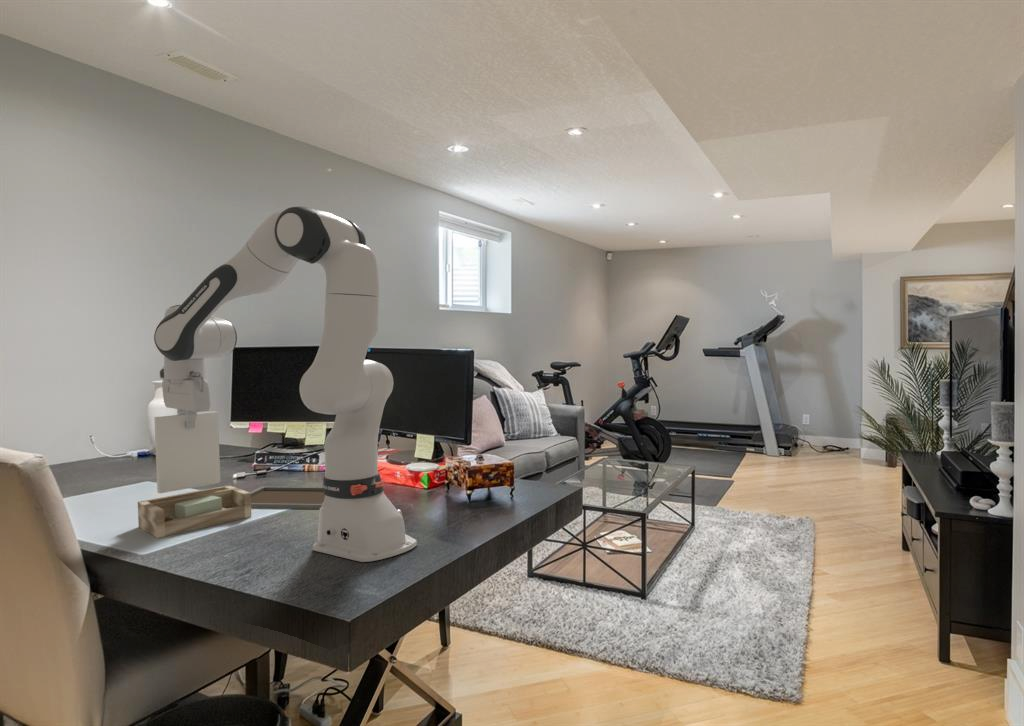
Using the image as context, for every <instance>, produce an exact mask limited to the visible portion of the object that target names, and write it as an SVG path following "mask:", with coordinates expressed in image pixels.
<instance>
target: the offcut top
mask: <svg viewBox="0 0 1024 726" xmlns="http://www.w3.org/2000/svg"><path fill="white" fill-rule="evenodd" d="M218 510H222V498H221V497H216V496H211V495H210V496H206V497H202V498H197V499H193V500H189V501H185V502H180V503H176V504H175V517H179V518H185V517H189V516H194V515H199V514H204V513H208V512H213V511H218Z"/></svg>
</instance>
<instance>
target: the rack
mask: <svg viewBox="0 0 1024 726" xmlns="http://www.w3.org/2000/svg"><path fill="white" fill-rule="evenodd" d="M250 492H251V491H247V490H244V489H241V488H238V487H235V486H232V485H229V484H228V485H227V484H226V485H224V486H223V485H222V486H216V487H211V488H206V489H200V490H195V491H191V492H184V493H179V494H173V495H167V496H163V497H161V496H160V497H156V498H151V499H145V500H141V501H137V514H138V516H137V518H138V528H140V529H141V530H143V531H145V532H146V533H148V534H150V535H151V536H153V537H155V538H157V539H160V538H163V537H168V536H172V535H178V534H181V533H186V532H191V531H194V530H199V529H203V528H207V527H212V526H216V525H217V526H218V525H221V524H225V523H230V522H235V521H238V520H243V519H247V518H252V508H251V493H250ZM210 495H211V496H216V497H221V498H222V507H224V508H227V509H223V510H218V511H213V512H208V513H204V514H199V515H194V516H189V517H185V518H180V519H175V520H170V521H168V517H170V516H175V504H176V503H180V502H185V501H189V500H193V499H197V498H202V497H206V496H210Z"/></svg>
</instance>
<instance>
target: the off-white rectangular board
mask: <svg viewBox="0 0 1024 726" xmlns="http://www.w3.org/2000/svg"><path fill="white" fill-rule="evenodd" d="M186 416H187V415H186V414H183V415H178V414H175V415H174V414H173V415H164V416H154V417H153V418H154V439H155V443H154V444H155V460H156V462H155V463H156V466H155V467H156V490H157V491H156V492H157V493H158V494H164V493H169V492H170V493H172V492H175V491H182V490H186V489H192V488H199V487H203V486H209V485H215V484H220V483H221V482H222V481H221V462H220V461H221V459H220V457H221V456H220V455H221V454H220V431H219V429H220V428H219V412H218V411H216V410H215V411H203V412H197V416H196V419H195V428H193V429H187V428H185V421H186Z"/></svg>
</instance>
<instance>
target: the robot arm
mask: <svg viewBox="0 0 1024 726" xmlns="http://www.w3.org/2000/svg"><path fill="white" fill-rule="evenodd" d="M366 241H367V240H366V236H365V234H364V232H363V230H362V229H361V228H360V227H359V226H358V225H357V224H356V223H354V222H353V221H351V220H349V219H345V218H342V217H340V216H337V215H334V214H333V213H331V212H328V211H325V210H321V209H320V210H319V209H313V208H311V207H308V206H291V207H288V208H286V209H283V210H279V211H275V212H274V213H272V214H270V216H268V217H267V218H266V219H264V221H263V222H261V224H260V225H259V226H258V227H257V229H255V231H254V232H253V233H252V234H251V236H250V237H249V238H248V240H247V241H246V242H245V244H244V245H243V246H242V247H241V249H239V250H238V251H237V253H236V254H234V255H233V256H232V257H231V258H230V259H229V260H227V261H225V262H224V263H223V264H222V265H220V266H218V267H216V268H215V269H214V270H213V271H211V273H209V274H208V275H207V276H206V277H205V278H204V279H203V280H202V281H201V283H200V284H199V285H197V287H196V288H195V289H194V290H193V291H192V292H191V294H190V295H189V296H188V297H187V298H185V300H184V301H183V302H182V303H181V304H175V305H172V306H169V308H166V310H165V313H164V317H163V318H162V320H161V321H160V322H159V323H158V325H157V326H156V329H155V330H154V335H153V340H154V344H155V347H156V348H157V350H158V352H160V354H161V355H162V356H163V357H164V358H163V361H164V362H163V363H164V365H163V367H162V368H161V369H160V370H159V378H160V379H161V380H162V381H161V388H162V389H161V390H162V397H163V402H164V405H165V407H166V408H168V409H174V410H175V409H176V410H177V415H183V414H186V415H187V416H186V421H185V428H187V429H193V428H195V419H196V416H197V413H202V412H209V410H210V408H211V395H210V394H211V393H210V388H209V387H210V386H209V383H208V380H206V379H205V378H206V377H207V376H206V359H210V358H211V359H212V358H222V357H226V356H229V355H230V354H231V353H233V351H235V348H236V346H237V342H238V335H237V334H238V333H237V331H236V328H235V326H234V325H233V323H232V322H231V321H230V320H228V319H225V318H221V317H218V316H215V315H214V314H215V313H216V312H217V311H218V310H219V309H220V308H221V307H222V306H223V305H224V304H226V303H228V302H229V301H232V300H235V299H238V298H242V297H247V296H251V295H259V294H264V293H268V292H271V291H273V290H275V289H276V288H277V287H278V286H280V285H281V284H282V283H283V282H284V281H285V280H286V278H288V276H289V275H290V274H291V272H292V270H293V269H294V268H295V266H296V265H297V263H298V262H299V261H300V260H301V261H304V262H306V263H308V264H311V265H313V264H319V265H321V267H322V268H323V270H324V272H325V295H324V296H325V300H324V302H325V303H324V321H323V322H324V323H323V330H322V335H321V340H320V343H319V347H318V350H317V353H316V355H315V357H314V360H313V362H312V363H311V365H310V366H309V368H308V369H307V370H306V371H305V373H303V375H302V376H301V378H300V382H299V390H298V391H299V395H300V399H301V401H302V403H303V405H304V406H305V407H306V408H307V409H309V411H312V412H314V413H318V414H323V415H332V416H333V415H335V419H334V423H333V424H332V428H331V430H330V431H329V433H328V434H327V436H326V438H325V441H324V445H323V446H324V471H325V472H324V474H325V475H324V476H323V478H322V479H323V480H322V481H323V482H322V487H323V493H324V494H325V499H324V502H323V504H322V506H321V507H320V509H318V510H319V513H318V528H317V541H316V542H315V543H313V545H312V551H315V552H318V553H321V554H322V553H324V554H327V555H330V556H335V557H340V558H343V559H346V560H347V559H348V560H352V561H355V562H360V563H366V562H375V561H379V560H380V561H381V560H383V559H384V560H385V559H388V558H392V557H394V556H397V555H400V554H403V553H406V552H408V551H410V550H412V549H414V548H416V547H417V546H418V541H417V539H415V538H413V537H412V536H411V535H409V534H406V528H405V520H404V517H403V512H402V510H401V509H397V508H396V507H395V505H394V504H393V502H392V501H390V499H389V497H387V495H386V494H385V493H384V490H385V489H384V487H385V486H386V484H384V483H386V480H382V477H381V473H379V472H378V471H379V469H378V467H379V466H378V465H379V464H378V463H379V462H378V461H379V460H378V459H379V458H378V457H379V456H378V455H379V454H378V453H379V452H378V443H379V442H378V441H379V433H380V431H379V430H380V425H381V423H382V422H381V421H382V418H383V413H384V409H385V405H386V402H387V400H388V399H389V397H390V395H391V394H392V392H393V389H394V377H393V373H392V371H391V370H390V369H389V368H388V366H386V365H385V364H383V363H381V362H378V361H375V360H372V359H366V356H367V353H368V349H369V347H370V345H371V343H372V341H373V340H374V339H375V338H376V336H377V334H378V329H379V327H378V325H379V302H380V300H379V298H380V297H379V296H380V292H379V291H380V290H379V289H380V287H379V286H380V285H379V284H380V283H379V272H378V264H377V258H376V254H375V253H374V251H373V250H372V249H371V248H370V247H368V246H367V245H366V244H367V242H366Z"/></svg>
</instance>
